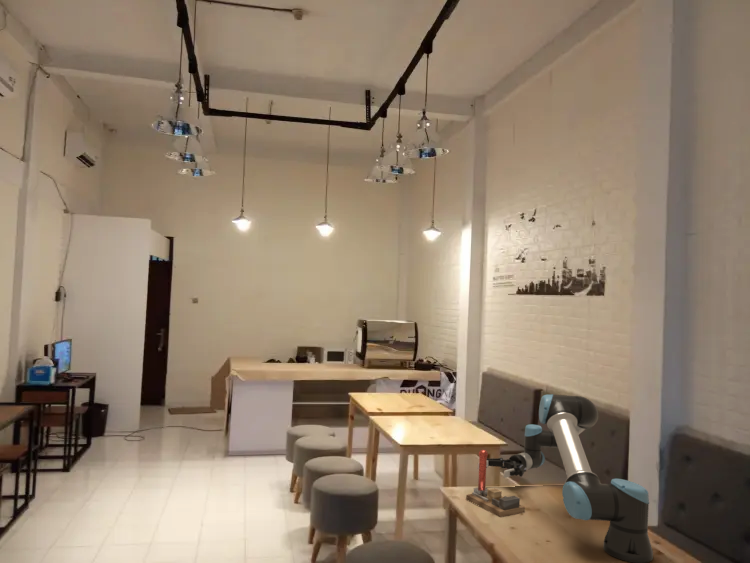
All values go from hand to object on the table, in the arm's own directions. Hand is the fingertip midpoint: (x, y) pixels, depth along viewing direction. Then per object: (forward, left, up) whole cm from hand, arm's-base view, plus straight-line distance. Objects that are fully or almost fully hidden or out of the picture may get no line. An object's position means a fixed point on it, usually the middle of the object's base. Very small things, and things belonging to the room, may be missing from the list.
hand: (491, 470), depth 233 cm
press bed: (-10, +6, -11) cm, 16 cm away
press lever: (-3, +6, -9) cm, 11 cm away
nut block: (-9, +6, -9) cm, 14 cm away
